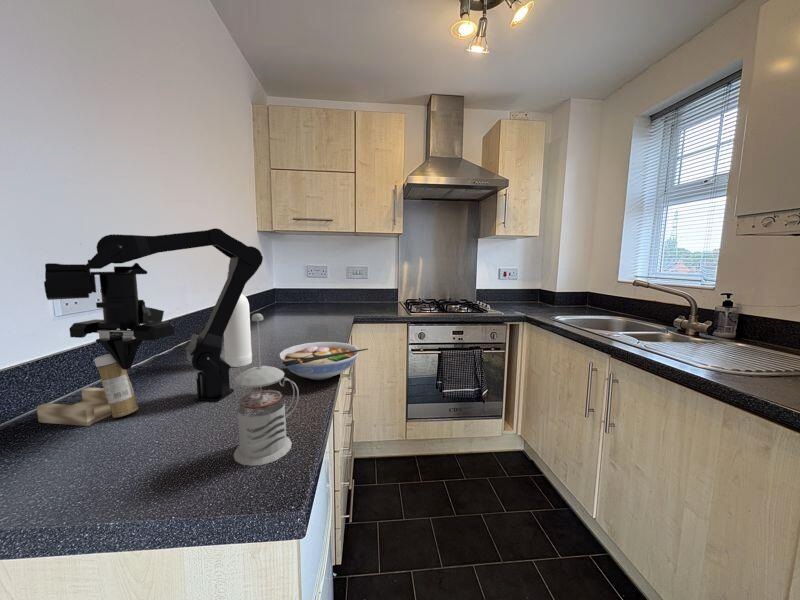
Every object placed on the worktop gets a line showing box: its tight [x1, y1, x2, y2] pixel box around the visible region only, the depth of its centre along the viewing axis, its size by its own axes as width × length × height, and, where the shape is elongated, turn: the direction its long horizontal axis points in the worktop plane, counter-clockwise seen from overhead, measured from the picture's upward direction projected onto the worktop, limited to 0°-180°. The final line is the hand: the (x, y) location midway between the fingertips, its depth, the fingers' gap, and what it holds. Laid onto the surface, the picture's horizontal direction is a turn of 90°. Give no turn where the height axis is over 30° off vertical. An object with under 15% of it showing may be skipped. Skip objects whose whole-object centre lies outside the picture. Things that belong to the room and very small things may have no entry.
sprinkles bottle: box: [93, 353, 140, 419], centre depth 70 cm, size 5×5×14 cm
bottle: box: [223, 274, 253, 368], centre depth 104 cm, size 8×8×30 cm
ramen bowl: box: [278, 341, 369, 381], centre depth 95 cm, size 25×23×8 cm
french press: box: [233, 313, 300, 467], centre depth 58 cm, size 10×12×25 cm
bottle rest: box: [36, 387, 112, 427], centre depth 71 cm, size 12×10×4 cm
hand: (127, 369), depth 69 cm, fingers closed
